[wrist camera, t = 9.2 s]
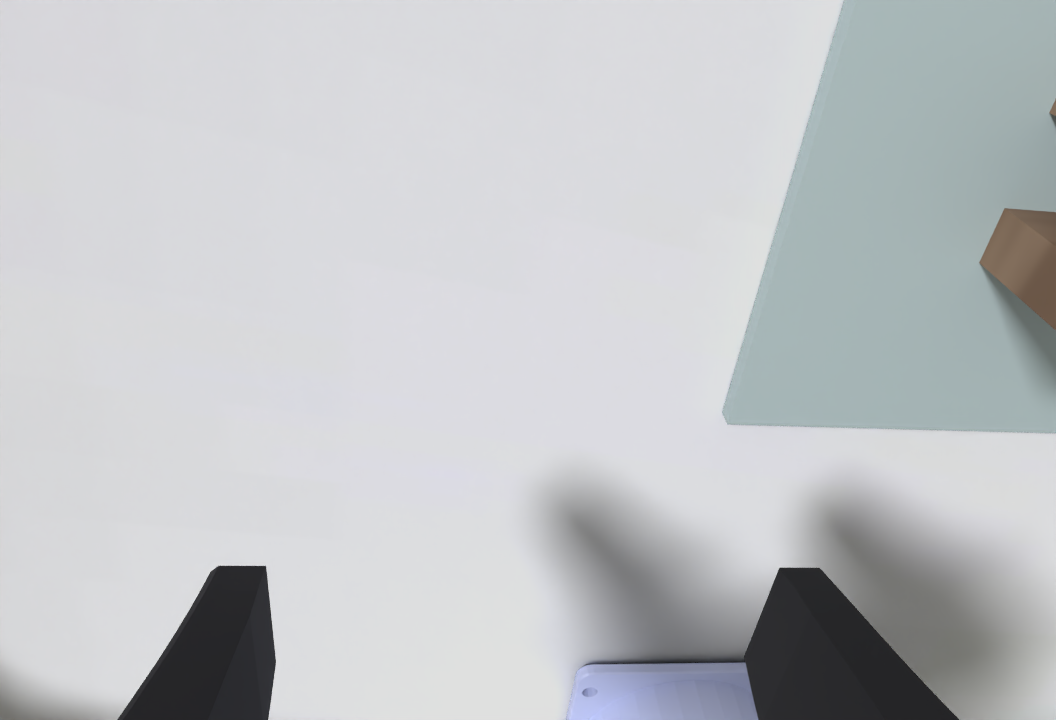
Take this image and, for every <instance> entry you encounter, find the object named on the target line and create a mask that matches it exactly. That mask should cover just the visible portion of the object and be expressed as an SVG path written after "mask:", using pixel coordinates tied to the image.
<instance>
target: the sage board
mask: <svg viewBox="0 0 1056 720" xmlns="http://www.w3.org/2000/svg"><path fill="white" fill-rule="evenodd" d="M1055 99H1056V0H844V3H843V7H842V10H841V13H840V17H839V20H838V24H837V27H836V30H835V34H834V37H833V40H832V44H831V47H830V51H829V54H828V57H827V61H826V64H825V67H824V71H823V74H822V77H821V81H820V84H819V88H818V91H817V94H816V98H815V101H814V104H813V108H812V111H811V115H810V118H809V121H808V125H807V128H806V131H805V135H804V138H803V142H802V145H801V148H800V152H799V155H798V158H797V162H796V165H795V169H794V172H793V175H792V179H791V182H790V185H789V189H788V192H787V196H786V199H785V202H784V206H783V209H782V212H781V216H780V219H779V223H778V226H777V229H776V233H775V236H774V239H773V243H772V246H771V250H770V253H769V256H768V260H767V263H766V266H765V270H764V273H763V277H762V280H761V283H760V287H759V290H758V293H757V297H756V300H755V304H754V307H753V310H752V314H751V317H750V320H749V324H748V327H747V330H746V334H745V337H744V341H743V344H742V347H741V351H740V354H739V357H738V361H737V364H736V368H735V371H734V374H733V378H732V381H731V384H730V388H729V391H728V395H727V398H726V401H725V405H724V408H723V411H722V413H723V416H724V418H725V420H726V422H727V424H730V425H767V426H805V427H842V428H879V429H916V430H953V431H990V432H1027V433H1056V330H1054V329H1053V328H1052V327H1051V326H1050V325H1049V324H1048V323H1047V322H1045V321H1044V320H1043V319H1042V318H1041V317H1040V316H1039V315H1038V314H1036V313H1035V312H1034V311H1033V310H1032V309H1031V308H1030V307H1028V306H1027V305H1026V304H1025V303H1024V302H1023V301H1022V300H1021V299H1019V298H1018V297H1017V296H1016V295H1015V294H1014V293H1013V292H1012V291H1010V290H1009V289H1008V288H1007V287H1006V286H1005V285H1004V284H1002V283H1001V282H1000V281H999V280H998V279H997V278H996V277H995V276H993V275H992V274H991V273H990V272H989V271H988V270H987V269H986V268H984V267H983V266H982V265H981V264H980V263H979V262H980V260H981V257H982V255H983V253H984V251H985V249H986V247H987V245H988V243H989V240H990V238H991V236H992V234H993V232H994V230H995V228H996V225H997V223H998V221H999V219H1000V217H1001V215H1002V213H1003V210H1004V208H1009V209H1022V210H1035V211H1048V212H1056V116H1054V115H1053V114H1051V113H1049V112H1050V110H1051V108H1052V106H1053V104H1054V101H1055Z"/></svg>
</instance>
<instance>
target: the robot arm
mask: <svg viewBox="0 0 1056 720" xmlns="http://www.w3.org/2000/svg"><path fill="white" fill-rule="evenodd" d="M744 658H745V663H667V664H592V665H586V666H583V667H582V668H580V669H579V670H578V671H577V673H576V676H575V680H574V685H573V689H572V694H571V698H570V703H569V707H568V712H567V716H566V720H959V719H958V718H957V717H956V716H955V715H954V714H953V713H952V712H951V711H950V710H949V709H948V708H947V707H946V706H945V705H944V704H943V703H942V702H941V700H940V699H939V698H938V697H937V696H936V695H935V694H934V693H933V692H932V691H931V690H930V689H929V688H928V687H927V686H926V685H925V684H924V683H923V682H922V680H921V679H920V678H919V677H918V676H917V675H916V674H915V673H914V672H913V671H912V670H911V669H910V668H909V667H908V665H907V664H906V663H905V662H904V661H903V660H902V659H901V658H900V657H899V656H898V655H897V653H896V652H895V651H894V650H893V649H892V648H891V647H890V646H889V645H888V644H887V642H886V641H885V640H884V639H883V638H882V637H881V636H880V635H879V634H878V632H877V631H876V630H875V629H874V628H873V627H872V626H871V625H870V624H869V622H868V621H867V620H866V619H865V618H864V617H863V616H862V615H861V613H860V612H859V611H858V610H857V609H856V608H855V607H854V606H853V604H852V603H851V602H850V601H849V600H848V599H847V598H846V597H845V596H844V594H843V593H842V592H841V591H840V590H839V589H838V588H837V587H836V585H835V584H834V583H833V582H832V581H831V580H830V579H829V578H828V577H827V576H826V574H825V573H824V572H823V571H822V570H821V569H820V568H779V570H778V573H777V575H776V578H775V580H774V583H773V585H772V588H771V591H770V593H769V596H768V598H767V601H766V603H765V606H764V608H763V611H762V613H761V616H760V618H759V621H758V623H757V626H756V628H755V631H754V633H753V636H752V638H751V641H750V643H749V646H748V648H747V651H746V653H745V656H744ZM275 665H276V659H275V649H274V640H273V630H272V620H271V610H270V601H269V591H268V581H267V572H266V566H218V567H217V568H215V569H214V570H212V571H211V572H210V574H209V576H208V578H207V580H206V582H205V583H204V585H203V587H202V589H201V591H200V593H199V594H198V596H197V598H196V600H195V601H194V603H193V605H192V607H191V608H190V610H189V612H188V613H187V615H186V617H185V618H184V620H183V622H182V623H181V625H180V627H179V628H178V630H177V631H176V633H175V635H174V636H173V638H172V639H171V641H170V642H169V644H168V646H167V647H166V649H165V650H164V652H163V653H162V655H161V657H160V658H159V660H158V661H157V663H156V664H155V666H154V667H153V669H152V670H151V672H150V673H149V675H148V676H147V677H146V679H145V680H144V682H143V683H142V685H141V686H140V688H139V689H138V691H137V692H136V694H135V695H134V696H133V698H132V699H131V701H130V702H129V704H128V705H127V707H126V708H125V710H124V711H123V713H122V714H121V715H120V717H119V718H118V720H268V716H269V709H270V702H271V695H272V687H273V680H274V672H275Z"/></svg>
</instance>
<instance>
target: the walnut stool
mask: <svg viewBox="0 0 1056 720" xmlns="http://www.w3.org/2000/svg"><path fill="white" fill-rule="evenodd" d="M1049 113H1051V114H1053V115H1054V116H1056V99H1055V101H1054V104H1053V106H1052V108H1051V110H1050V112H1049ZM979 263H980V264H981V265H982V266H983V267H984V268H986V269H987V270H988V271H989V272H990V273H991V274H992V275H993V276H995V277H996V278H997V279H998V280H999V281H1000V282H1001V283H1002V284H1004V285H1005V286H1006V287H1007V288H1008V289H1009V290H1010V291H1012V292H1013V293H1014V294H1015V295H1016V296H1017V297H1018V298H1019V299H1021V300H1022V301H1023V302H1024V303H1025V304H1026V305H1027V306H1028V307H1030V308H1031V309H1032V310H1033V311H1034V312H1035V313H1036V314H1038V315H1039V316H1040V317H1041V318H1042V319H1043V320H1044V321H1045V322H1047V323H1048V324H1049V325H1050V326H1051V327H1052V328H1053V329H1054V330H1056V212H1048V211H1035V210H1022V209H1009V208H1004V210H1003V213H1002V215H1001V217H1000V219H999V221H998V223H997V225H996V228H995V230H994V232H993V234H992V236H991V238H990V240H989V243H988V245H987V247H986V249H985V251H984V253H983V255H982V257H981V260H980V262H979Z"/></svg>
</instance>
